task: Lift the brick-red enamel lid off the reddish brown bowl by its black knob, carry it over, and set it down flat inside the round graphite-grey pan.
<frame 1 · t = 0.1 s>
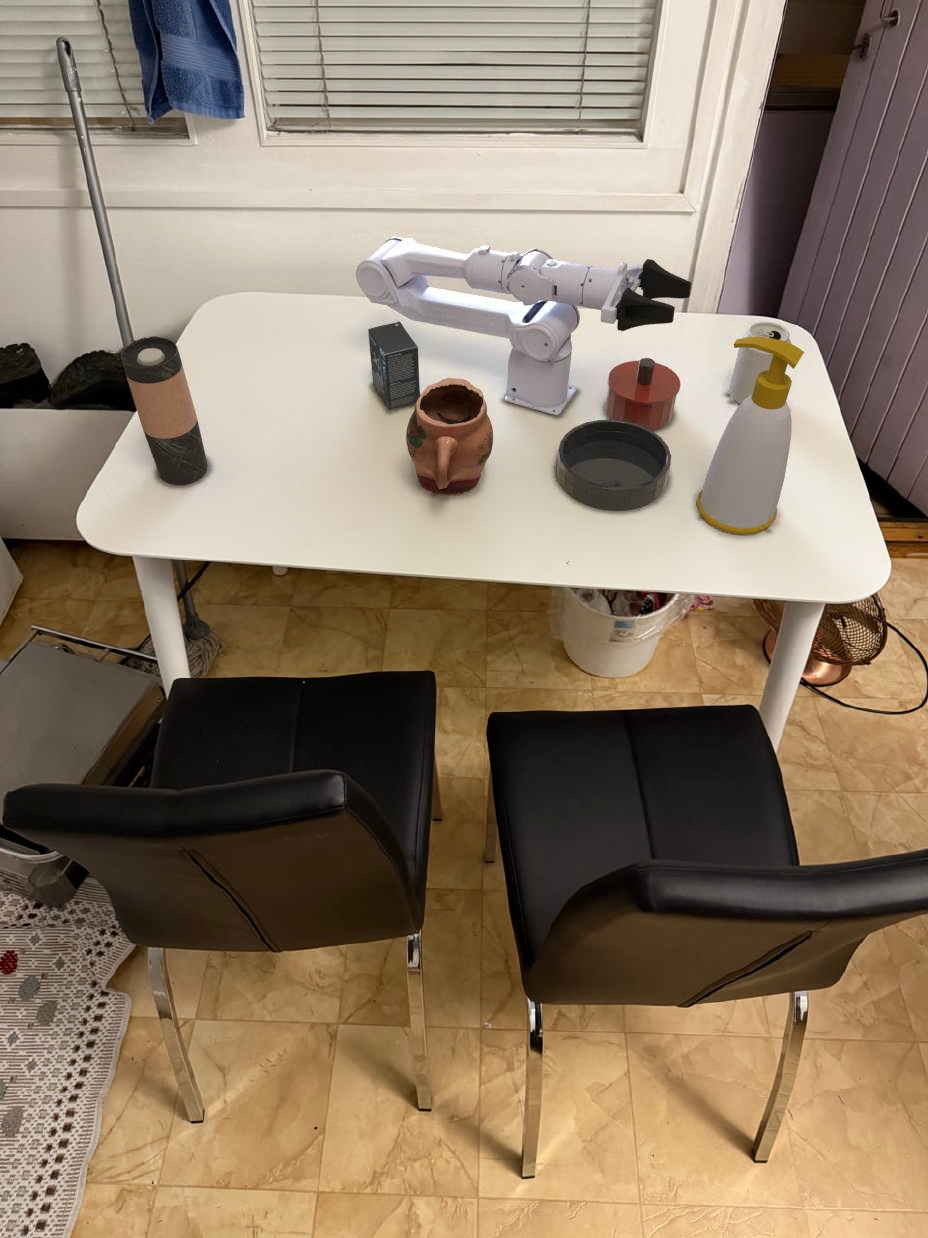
hand: (681, 302, 127), 22 cm above the table, tool horizontal, fingers open, 7 cm apart
can: (750, 398, 149), on the table
lid: (643, 383, 142), point 5 cm above the table, touching reddish brown bowl
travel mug: (184, 471, 137), on the table
soap bottle: (734, 510, 131), on the table
pan: (611, 474, 136), on the table
reddish brown bowl: (638, 412, 146), on the table
box: (396, 395, 150), on the table
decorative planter: (450, 484, 135), on the table
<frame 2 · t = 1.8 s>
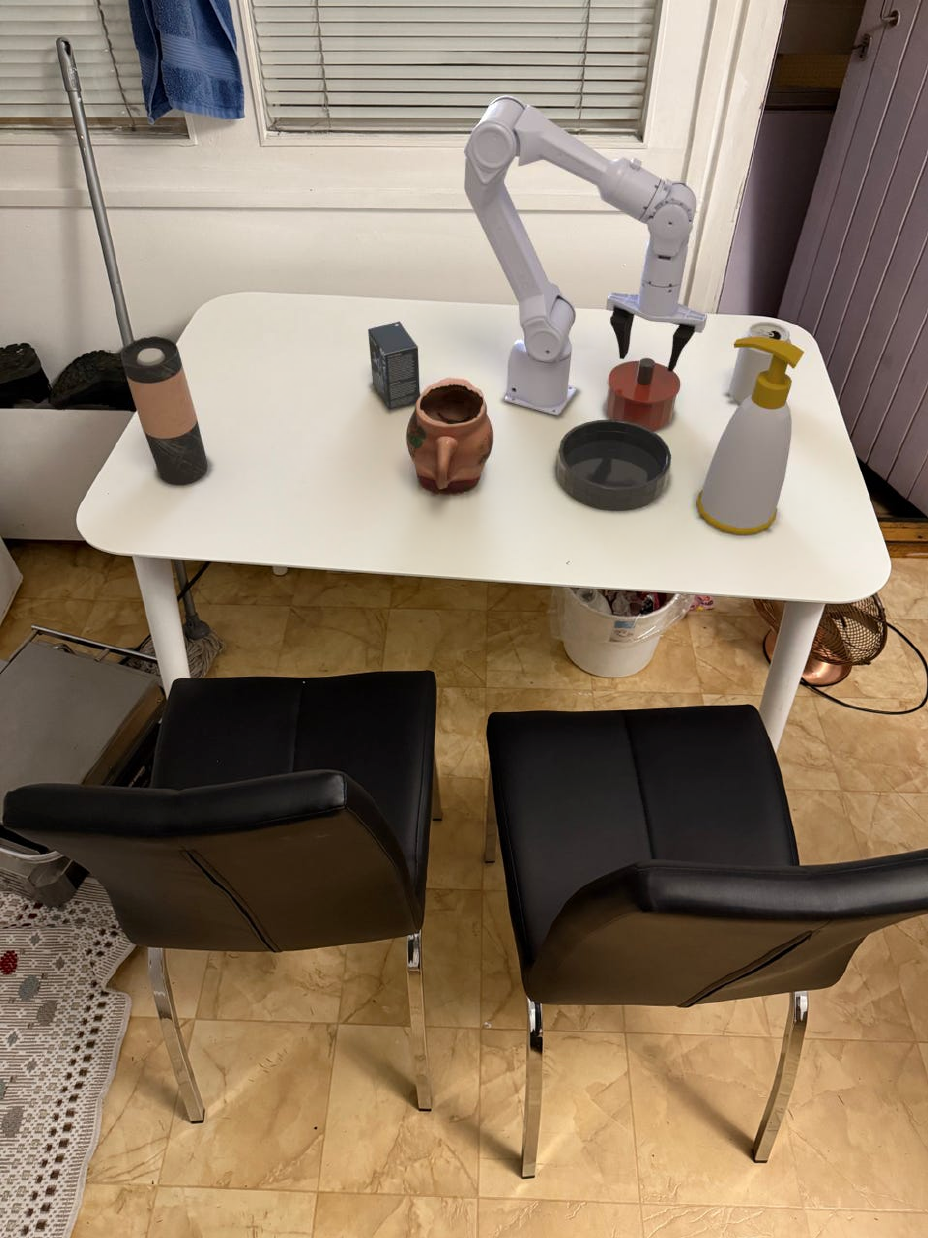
hand: (647, 361, 139), 9 cm above the table, tool pointing down, fingers open, 7 cm apart
nothing on the table moved.
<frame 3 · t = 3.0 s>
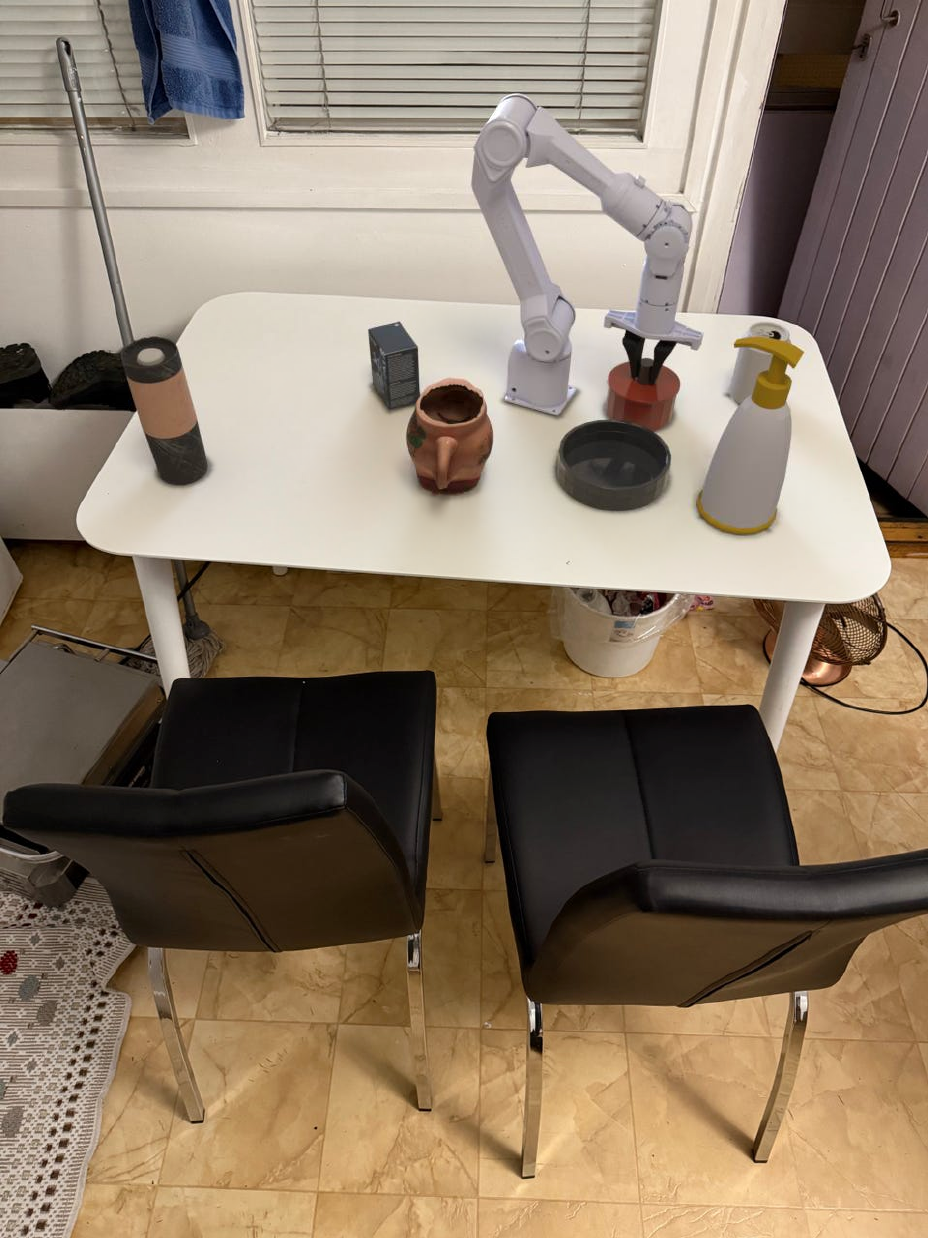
hand: (644, 377, 141), 6 cm above the table, tool pointing down, fingers closed on lid, 2 cm apart
lid: (643, 383, 142), point 5 cm above the table, touching gripper, reddish brown bowl
everything else where it was.
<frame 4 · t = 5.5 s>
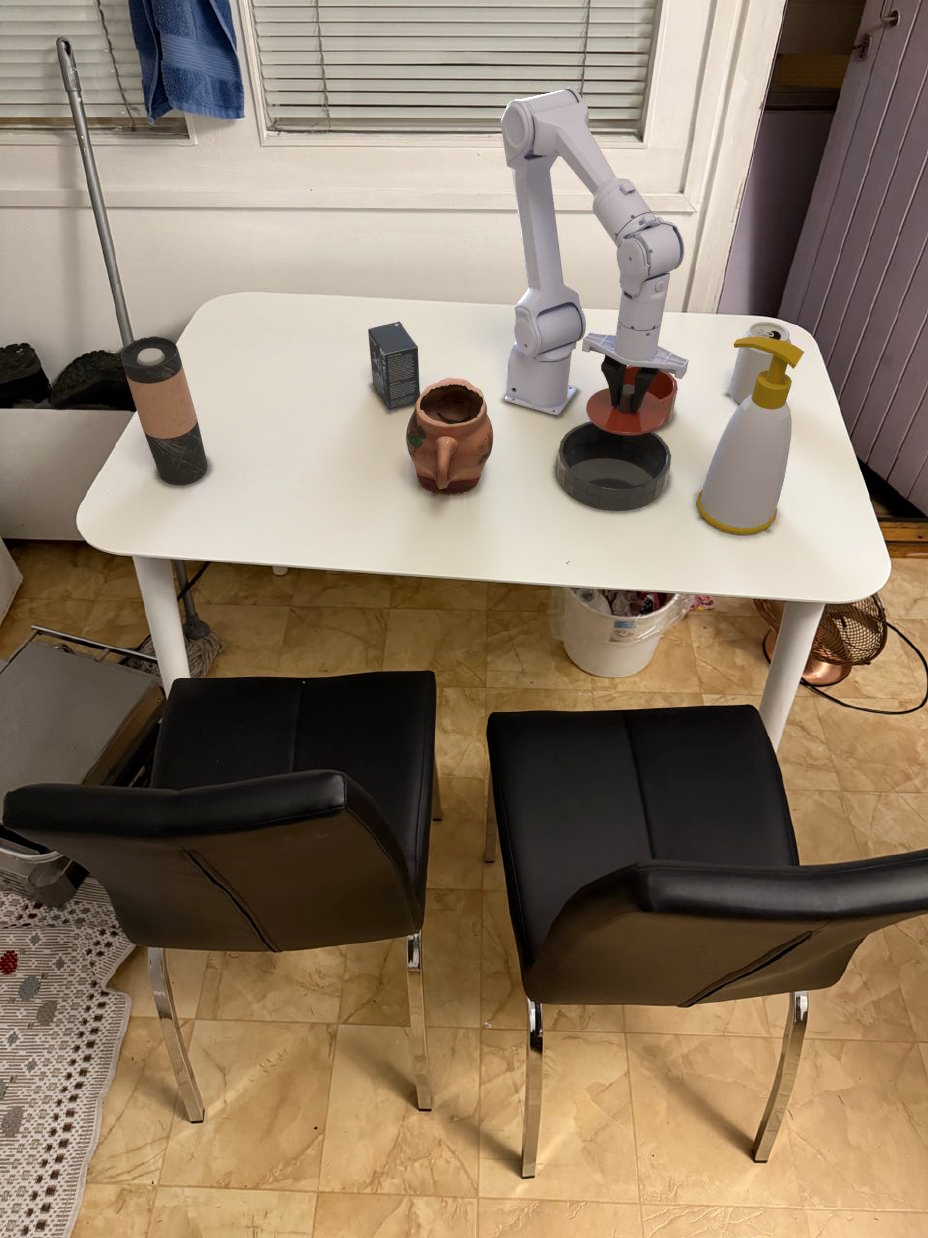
hand: (626, 405, 131), 10 cm above the table, tool pointing down, fingers closed on lid, 2 cm apart
lid: (625, 411, 131), point 9 cm above the table, touching gripper
everything else where it was.
when the fingers open (2 cm above the table, at t = 7.9 s): lid stays where it is, resting on pan.
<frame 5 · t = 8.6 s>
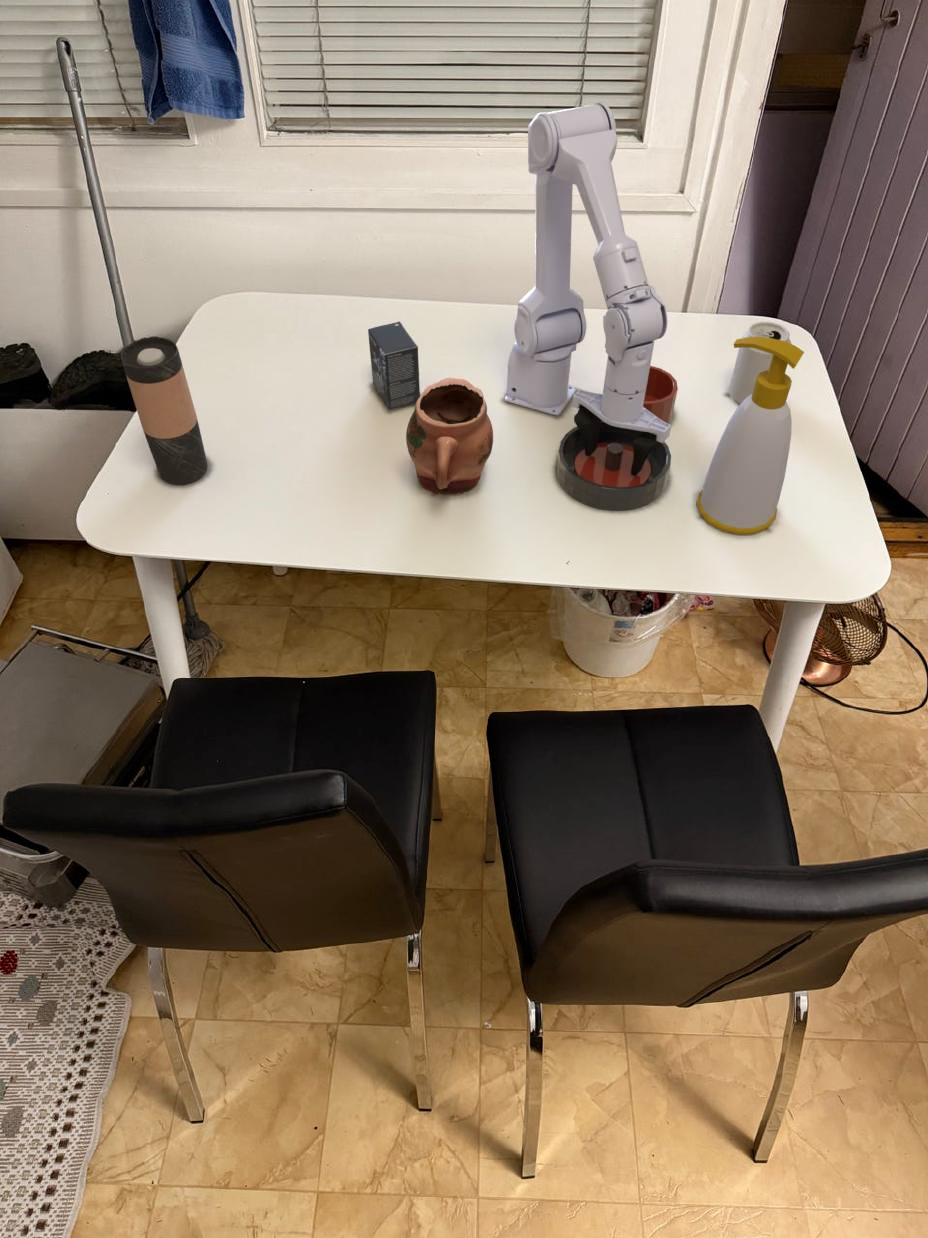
hand: (613, 462, 134), 2 cm above the table, tool pointing down, fingers open, 7 cm apart
lid: (612, 468, 135), point 1 cm above the table, touching pan
everything else where it was.
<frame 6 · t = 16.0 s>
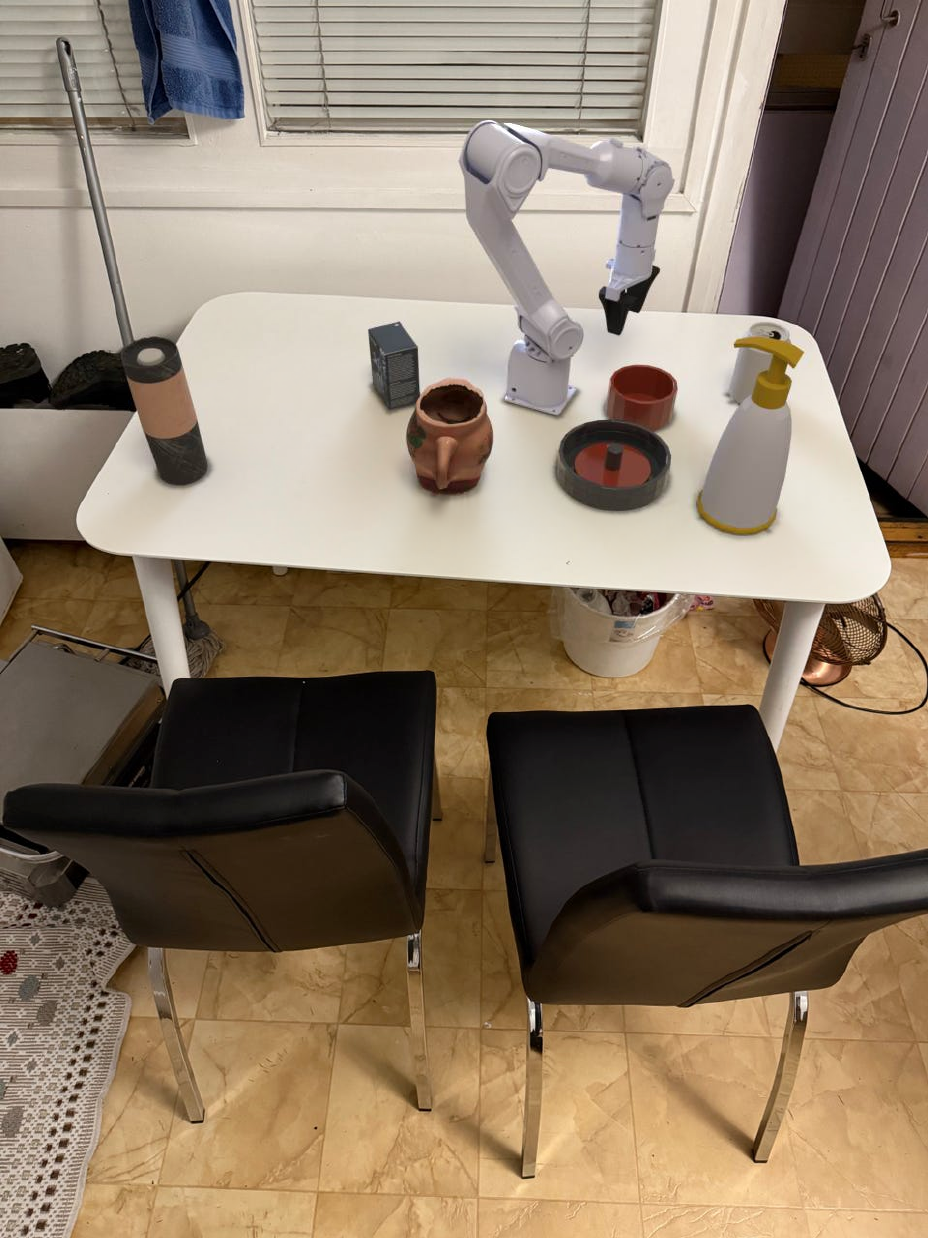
hand: (624, 321, 147), 9 cm above the table, tool pointing down, fingers open, 7 cm apart
nothing on the table moved.
at the end: lid 0.0 cm off-centre in the pan, point 1.1 cm above the pan's base; lid tilted 0°; the gripper is holding nothing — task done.
